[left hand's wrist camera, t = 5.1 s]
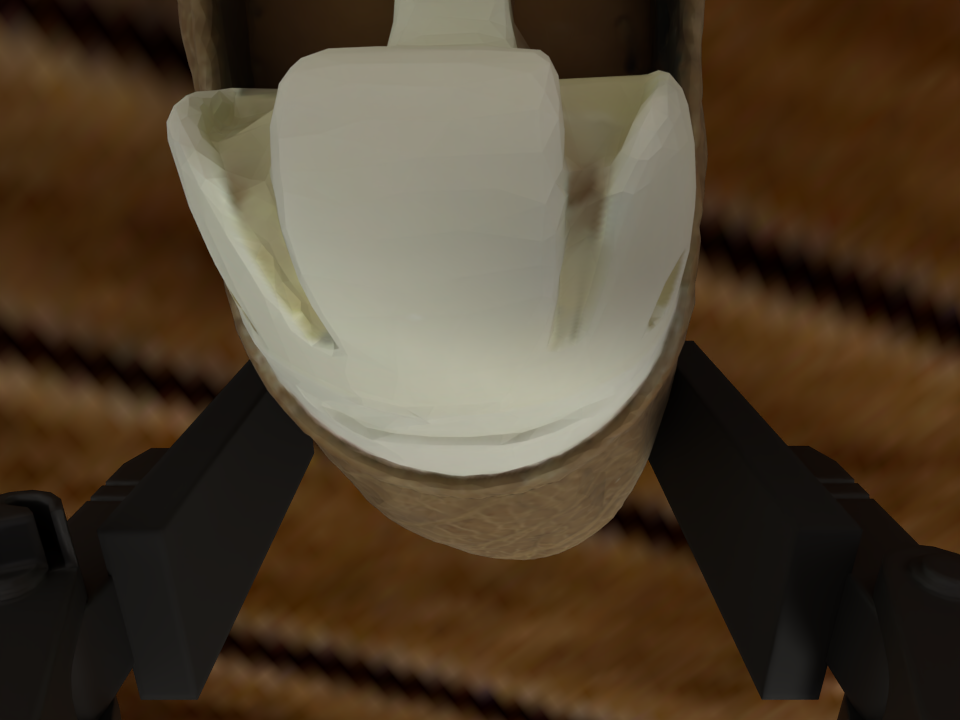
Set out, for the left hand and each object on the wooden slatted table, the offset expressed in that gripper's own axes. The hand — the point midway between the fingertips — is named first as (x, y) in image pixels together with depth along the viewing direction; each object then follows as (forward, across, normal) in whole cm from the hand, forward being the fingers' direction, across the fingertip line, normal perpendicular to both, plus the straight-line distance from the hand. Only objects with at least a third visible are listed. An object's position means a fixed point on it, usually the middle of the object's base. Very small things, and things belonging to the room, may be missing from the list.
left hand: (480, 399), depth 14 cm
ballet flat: (+1, 0, -9) cm, 9 cm away
